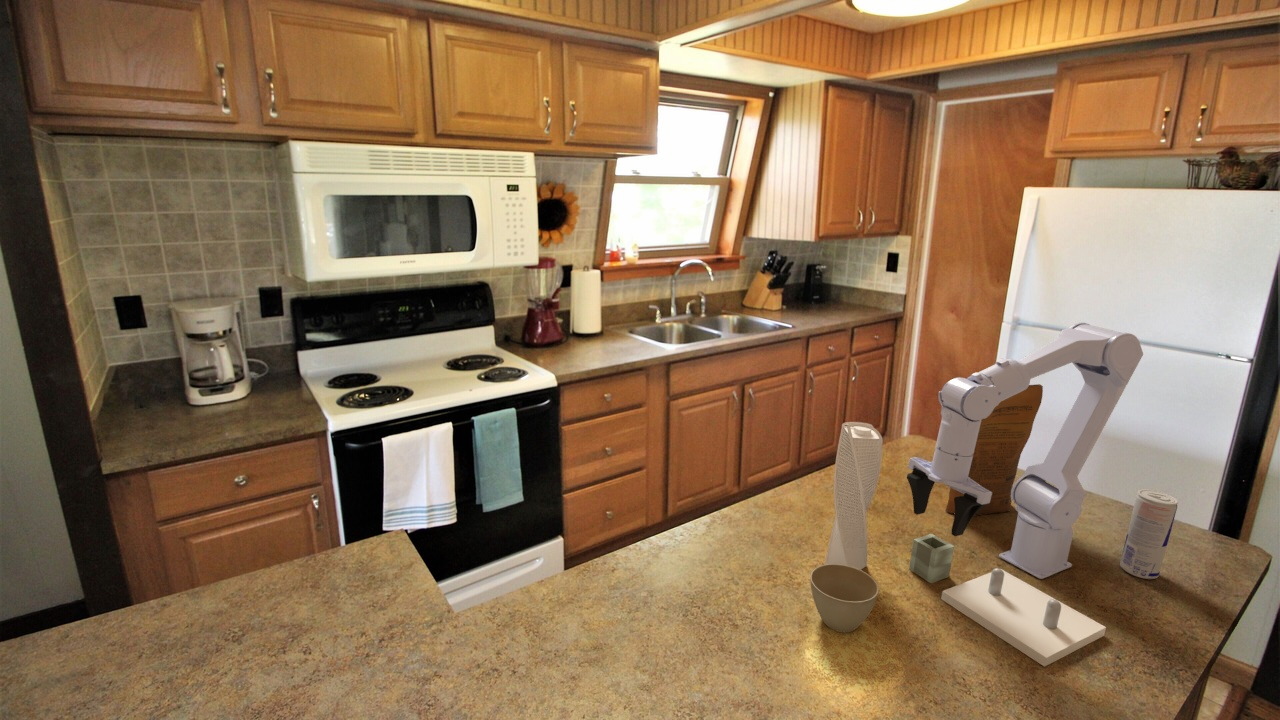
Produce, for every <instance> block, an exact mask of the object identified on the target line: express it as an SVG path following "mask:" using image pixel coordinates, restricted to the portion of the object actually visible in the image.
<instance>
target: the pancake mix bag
mask: <svg viewBox="0 0 1280 720" xmlns="http://www.w3.org/2000/svg"><path fill="white" fill-rule="evenodd" d="M1043 389H1044V386H1043V385H1042V384H1039V383H1038V384H1029V386H1028V388H1027V389H1026V390H1024V391H1022V392H1020V393H1017V394H1015V395H1013V396H1011V397H1009V398H1007V399H1005V400H1003V401H1001V402H1000V403H999V405H997V406H996V407H995V408H994V409H993V411H992V413H991V414H990V415H989V416H988V417H987V418H985V419H982V420H981V424H980V428H979V432H978V437H977V441H976V445H975V449H974V454H973V458H972V462H971V466H970V471H969V475H968V477H969V478H970V479H972V480H973V481H975V482H976V483H978V484H979V485H980V486H982V487H983V488H985V489H987V490H989V491H991V492H992V496H991V500H990V503H987V504H986V505H985V506H984V507H982V508H981V509H980V510H979V511H978V512H977V513H976V515H975V516H980V515H979V514H983V515H988V513H991V514H997V513H996V512H1000V513H1006V512H1005V511H1009V510H1010V511H1011V509H1012V508H1011V507H1012V501H1013V500H1012V498H1011V490H1012V487H1013V485H1014V483H1015V479H1016V475H1017V471H1018V467H1019V462H1020V459H1021V455H1022V453H1023V451H1024V448H1025V447H1026V445H1027V443H1028V441H1029V438H1030V437H1031V433H1032V431H1033V425H1034V421H1035V420H1036V416H1037V414H1038V411H1039V409H1040V407H1041V404H1042V400H1043V394H1044V393H1043V392H1044V390H1043ZM959 496H964V494H963V493H961V492H959V491H957V490H955V489H953V488H951V487H949V492H948V501H947V504H946V507H945V512H946V513H950V514H953V513H955V503H954V498H955V497H959ZM1010 511H1009V512H1010Z"/></svg>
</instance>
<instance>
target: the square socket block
mask: <svg viewBox="0 0 1280 720" xmlns="http://www.w3.org/2000/svg"><path fill="white" fill-rule="evenodd" d="M954 549H955V545H953V544H951V543H949V542H947V541H946V540H944V539H943V538H940V537H939V536H937V535H934V533H928V534H927V535H926V534H925V535H923V536H921V537H917V538H914V539H913V541H912V548H911V553H910V554H911V556H910V561H909V568H908V569H909V571H911V572H912V573H914V574H916V575H917V576H919V577H921V579H924V581H926V582H928V583H929V584H933V583H936V582H939V581H942V580H943V579H944V580H945V579H947V578H949V577H950V573H951V568H952V563H953V555H954V551H955V550H954Z"/></svg>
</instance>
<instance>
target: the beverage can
mask: <svg viewBox="0 0 1280 720" xmlns="http://www.w3.org/2000/svg"><path fill="white" fill-rule="evenodd" d="M1178 504H1179V500H1178V499H1177V498H1176V497H1174V496H1172V495H1170V494H1167V493H1165V492H1161V491H1157V490H1153V489H1139V490H1137V494H1136V497H1135V500H1134V504H1133V509H1132V513H1131V516H1130V517H1131V518H1130V522H1129V524H1128V529H1127V533H1126V538H1125V541H1124V545H1123V550H1122V553H1121V557H1120V562H1119V566H1120V567H1121V569H1123V570H1124V571H1125V572H1126V573H1128V574H1130V575H1131V576H1134V577H1137V578H1140V579H1146V580H1154V579H1157V578H1159V577H1160V572H1161V569H1162V566H1163V562H1164V559H1165V554H1166V552H1167V547H1168V543H1169V539H1170V535H1171V532H1172V529H1173V528H1172V527H1173V524H1174V520H1175V517H1176V513H1177V510H1178Z"/></svg>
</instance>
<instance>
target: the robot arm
mask: <svg viewBox="0 0 1280 720" xmlns="http://www.w3.org/2000/svg"><path fill="white" fill-rule="evenodd" d="M1143 356H1144V352H1143V349H1142V346H1141V343H1140V340H1139V338H1138V337H1137V336H1136V335H1134V334H1133V333H1128V332H1121V331H1117V330H1113V329H1108V328H1103V327H1099V326H1095V325H1091V324H1089V323H1086V322H1077V323H1073V324H1072V325H1071V326H1070V327H1067V328H1063V329H1062V330H1061V331H1060V334H1059V335H1058V337H1057V338H1055V339H1054V340H1052V341H1051V342H1048V343H1047V344H1045V345H1044V346H1042V347H1039V348H1038V349H1036V350H1034V351H1033V352H1031V353H1029V354H1028V355H1026V356H1025V357H1023V358H1021V359H1019V360H1016V359H1013V358H1000V359H997V360H996V361H995V363H994V364H993V365H991V366H989V367H987V368H985V369H983V370H980V371H979V372H977V371H976V372H974V373H972V374H970V375H969V376H968V377H967V378H965V377H954V378H953V379H950V380H949V381H947V382H946V383H945V384H944V385H943V386H942V389H941V390H939V391H938V397H937V398H938V402H939V404H940V406H941V409H940V415H941V421H940V425H939V430H938V434H937V439H936V443H935V448H934V453H933V457H932V461H929V460H925V459H923V458H922V457H921V458H920V457H917V456H914V457H909V460H908V465H907V469H909V470H911V472H908V473H907V475H906V479H907V481H908V484H909V486H910V490H911V491H910V492H911V495H912V501H913V503H912V504H913V513H914V514H915V515H916V516H917V515H922V514H925V512H926V510H927V507H928V503H929V499H930V495H931V492H932V490H933V488H934V485H935V483H936V484H938V483H939V484H943V485H945V486H947V487H949V488H950V487H951V488H953V489H955V490H957V491H959V492H961V493H963V494H964V496H959V497H955V498H954V503H955V514H954V516H953V523H952V527H951V535H952V536H954V537H959V536H962V535H964V533H965V530H966V529H967V527H968V525H969V524H970V522H971V521H972V519H973V518H974V517H975V516H977V515H976V513H977V512H978V511H979V510H980V509H981V508H982V507H984V506H985V505H986V504H987V503H990V500H991V496H992V492H991V491H989V490H987V489H985V488H983V487H982V486H980V485H979V484H978V483H976V482H975V481H973V480H972V479H970V478H969V477H968V475H969V471H970V466H971V462H972V458H973V454H974V449H975V445H976V441H977V437H978V432H979V428H980V424H981V420H982V419H985V418H987V417H988V416H989V415H990V414H991V413H992V411H993V409H994V408H995V407H996V406H997V405H999V403H1000V402H1001V401H1003V400H1005V399H1007V398H1009V397H1011V396H1013V395H1015V394H1017V393H1020V392H1022V391H1024V390H1026V389H1027V388H1028V386H1029V385H1031V384H1030V382H1031V380H1032V379H1035V378H1036V377H1039V376H1042V375H1045V374H1046V373H1049V372H1051V371H1054V370H1057V369H1059V368H1061V367H1064V366H1067V365H1069V364H1071V363H1072V364H1073V365H1074V367H1075V368H1076V369H1077V370H1078V371H1079V372H1080V374H1081V376H1082V378H1083V381H1084V384H1083V387H1082V388H1081V390H1080V392H1079V393H1078V395H1077V397H1076V399H1075V401H1074V403H1073V405H1072V406H1071V409H1070V411H1069V413H1068V414H1067V417H1066V418H1065V420H1064V423H1063V424H1062V426H1061V427H1060V430H1059V431H1058V433H1057V435H1056V437H1055V439H1054V441H1053V443H1052V445H1051V447H1050V449H1049V451H1048V452H1047V455H1046V456H1045V458H1044V460H1043V462H1041V463H1037V464H1031V465H1029V466H1027V467H1026V468H1025V471H1024V473H1023V474H1022V475H1021V476H1020V477H1019V478H1018V479H1017V480H1016V481H1014V483H1013V486H1012V490H1011V500H1012V501H1013V503H1014V504H1015V505H1016V506H1015V511H1017V518H1016V523H1015V528H1014V533H1013V539H1012V543H1011V548H1010V549H1009V550H1006V551H1004V552H1001V553H998V556H999V558H1000V559H1002V560H1004V561H1006V562H1008V563H1010V564H1012V565H1013V566H1015V567H1017V568H1019V569H1021V570H1023V571H1025V572H1027V573H1029V574H1031V575H1032V576H1034V577H1036V578H1038V579H1039V580H1042V579H1045V578H1047V577H1050V576H1053V575H1055V574H1058V573H1059V572H1061V571H1064V570H1066V569H1069V568H1072V566H1073V564H1072V563H1071V562H1069V561H1068V559H1069V555H1070V550H1071V546H1072V540H1073V537H1074V530H1073V525H1074V524H1076V523H1077V521H1078V520H1079V518H1080V517H1081V512H1082V505H1083V502H1084V499H1085V498H1086V496H1087V493H1086V491H1085V489H1084V487H1083V485H1082V484H1081V482H1080V480H1079V474H1080V473H1081V471H1082V469H1083V467H1084V466H1085V463H1086V462H1087V460H1088V458H1089V456H1090V454H1091V452H1092V450H1093V448H1094V447H1095V445H1096V443H1097V441H1098V439H1099V437H1100V435H1101V434H1102V432H1103V430H1104V428H1105V426H1106V424H1107V423H1108V421H1109V419H1110V418H1111V415H1112V414H1113V411H1114V410H1115V407H1117V404H1118V402H1119V400H1120V399H1121V396H1122V395H1123V393H1124V391H1125V389H1126V387H1127V385H1128V384H1129V382H1130V380H1131V378H1132V376H1133V374H1134V373H1135V371H1136V370H1137V367H1138V365H1139V363H1140V361H1141V359H1142V358H1143Z"/></svg>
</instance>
